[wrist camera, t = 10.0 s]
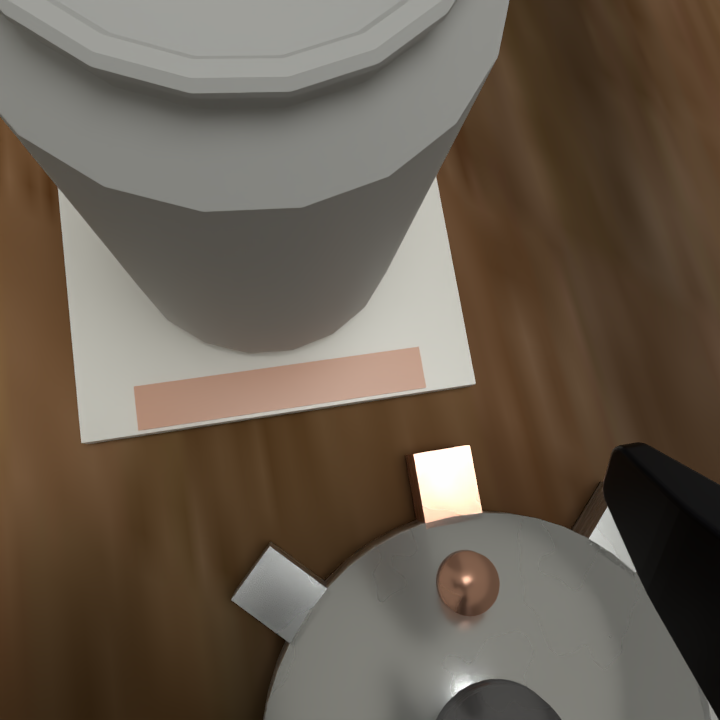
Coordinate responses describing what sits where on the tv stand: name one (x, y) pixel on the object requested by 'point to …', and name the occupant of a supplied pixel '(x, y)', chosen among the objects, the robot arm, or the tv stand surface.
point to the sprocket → (471, 619)
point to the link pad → (264, 369)
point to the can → (246, 142)
